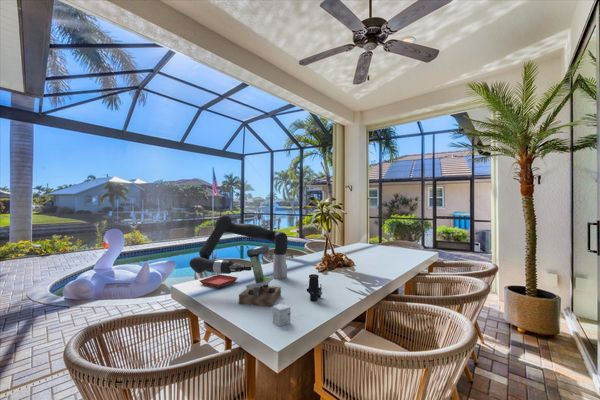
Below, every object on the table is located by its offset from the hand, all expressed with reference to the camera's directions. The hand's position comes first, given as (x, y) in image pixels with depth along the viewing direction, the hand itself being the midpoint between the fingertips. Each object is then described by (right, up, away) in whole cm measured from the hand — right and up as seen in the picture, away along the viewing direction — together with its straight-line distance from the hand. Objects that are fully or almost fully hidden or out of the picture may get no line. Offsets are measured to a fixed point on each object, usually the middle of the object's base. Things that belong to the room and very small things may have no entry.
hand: (251, 268), depth 149 cm
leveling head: (+7, -9, -2) cm, 12 cm away
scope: (+36, -18, 0) cm, 40 cm away
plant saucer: (-27, -18, +28) cm, 42 cm away
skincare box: (+19, -17, -29) cm, 39 cm away
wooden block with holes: (+6, -17, -2) cm, 18 cm away
